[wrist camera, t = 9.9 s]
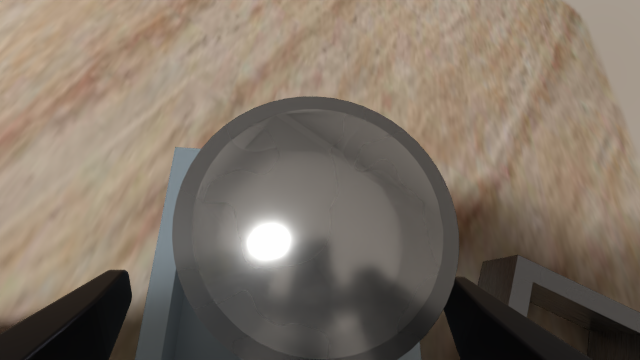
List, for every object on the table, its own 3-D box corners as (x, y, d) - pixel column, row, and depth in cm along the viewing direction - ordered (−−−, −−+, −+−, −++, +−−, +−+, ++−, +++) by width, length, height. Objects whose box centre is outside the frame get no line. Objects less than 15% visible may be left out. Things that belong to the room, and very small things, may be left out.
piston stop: (278, 354, 15) (306, 472, 4) (216, 270, 16) (110, 191, 5) (353, 283, 17) (510, 237, 6) (293, 211, 18) (335, 58, 7)
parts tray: (400, 404, 16) (426, 424, 13) (149, 411, 15) (120, 436, 12) (385, 181, 21) (403, 162, 18) (189, 170, 19) (175, 147, 16)
